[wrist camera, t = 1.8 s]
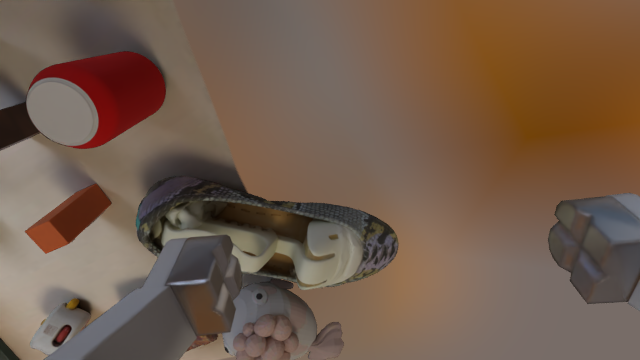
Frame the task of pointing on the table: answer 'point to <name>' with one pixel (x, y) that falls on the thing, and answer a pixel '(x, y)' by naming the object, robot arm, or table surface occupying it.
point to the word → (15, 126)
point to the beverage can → (94, 98)
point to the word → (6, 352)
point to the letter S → (69, 219)
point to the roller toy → (60, 327)
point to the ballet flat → (269, 232)
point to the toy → (278, 326)
